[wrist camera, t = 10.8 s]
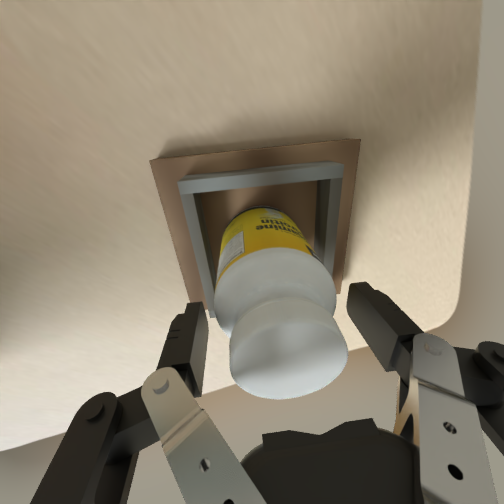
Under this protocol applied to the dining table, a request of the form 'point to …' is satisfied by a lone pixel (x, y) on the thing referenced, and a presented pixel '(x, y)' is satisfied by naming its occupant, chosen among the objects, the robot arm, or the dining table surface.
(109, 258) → the dining table surface
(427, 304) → the dining table surface
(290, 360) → the pill bottle
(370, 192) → the dining table surface
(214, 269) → the collar board
